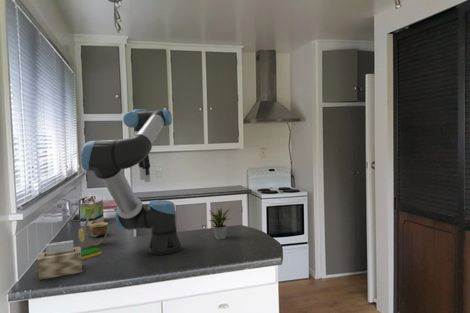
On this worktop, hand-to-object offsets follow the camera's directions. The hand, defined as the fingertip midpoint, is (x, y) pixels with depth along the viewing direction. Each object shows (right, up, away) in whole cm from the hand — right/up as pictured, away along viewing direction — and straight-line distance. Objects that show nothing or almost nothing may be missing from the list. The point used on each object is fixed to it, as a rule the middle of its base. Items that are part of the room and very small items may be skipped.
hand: (145, 180), depth 189 cm
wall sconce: (-25, -34, -1) cm, 42 cm away
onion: (-31, -33, +19) cm, 49 cm away
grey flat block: (-25, -32, -38) cm, 56 cm away
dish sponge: (-24, -35, -19) cm, 46 cm away
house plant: (+40, -30, -1) cm, 50 cm away
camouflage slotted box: (-25, -35, -38) cm, 58 cm away
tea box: (-48, -33, +55) cm, 80 cm away
